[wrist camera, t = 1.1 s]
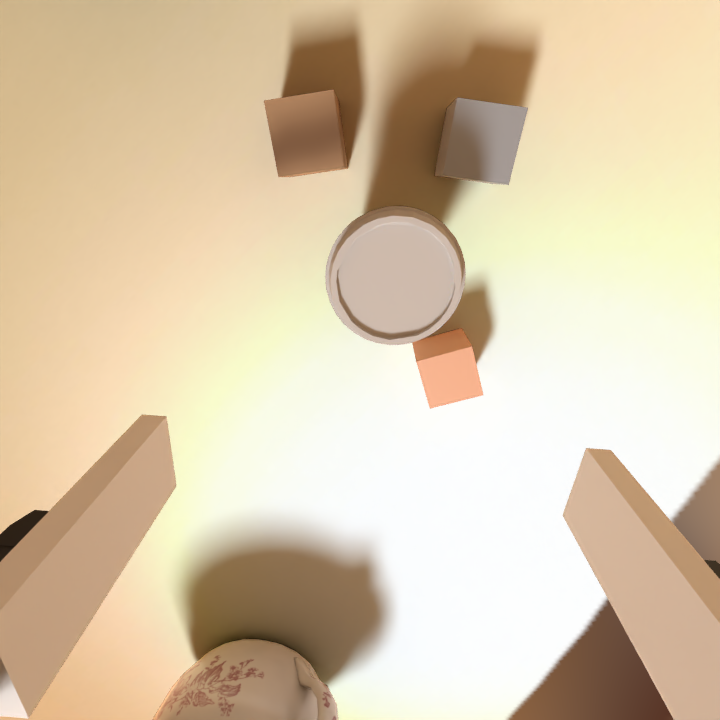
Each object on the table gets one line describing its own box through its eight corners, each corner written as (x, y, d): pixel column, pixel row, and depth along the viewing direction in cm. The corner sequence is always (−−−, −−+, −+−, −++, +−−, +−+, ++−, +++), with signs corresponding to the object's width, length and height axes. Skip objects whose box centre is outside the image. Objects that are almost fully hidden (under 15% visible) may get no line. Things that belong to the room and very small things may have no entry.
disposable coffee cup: (412, 176, 36) (427, 175, 25) (459, 272, 39) (492, 310, 28) (318, 234, 38) (295, 257, 27) (371, 321, 41) (369, 373, 30)
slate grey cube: (446, 108, 34) (457, 97, 29) (507, 117, 34) (527, 107, 29) (434, 175, 36) (442, 175, 31) (491, 183, 36) (508, 184, 31)
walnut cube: (278, 110, 34) (263, 100, 30) (339, 101, 34) (333, 89, 29) (290, 176, 36) (278, 177, 32) (347, 168, 36) (343, 167, 31)
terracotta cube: (412, 341, 42) (416, 361, 37) (461, 327, 41) (472, 346, 37) (424, 384, 44) (429, 408, 39) (471, 371, 43) (483, 394, 38)
